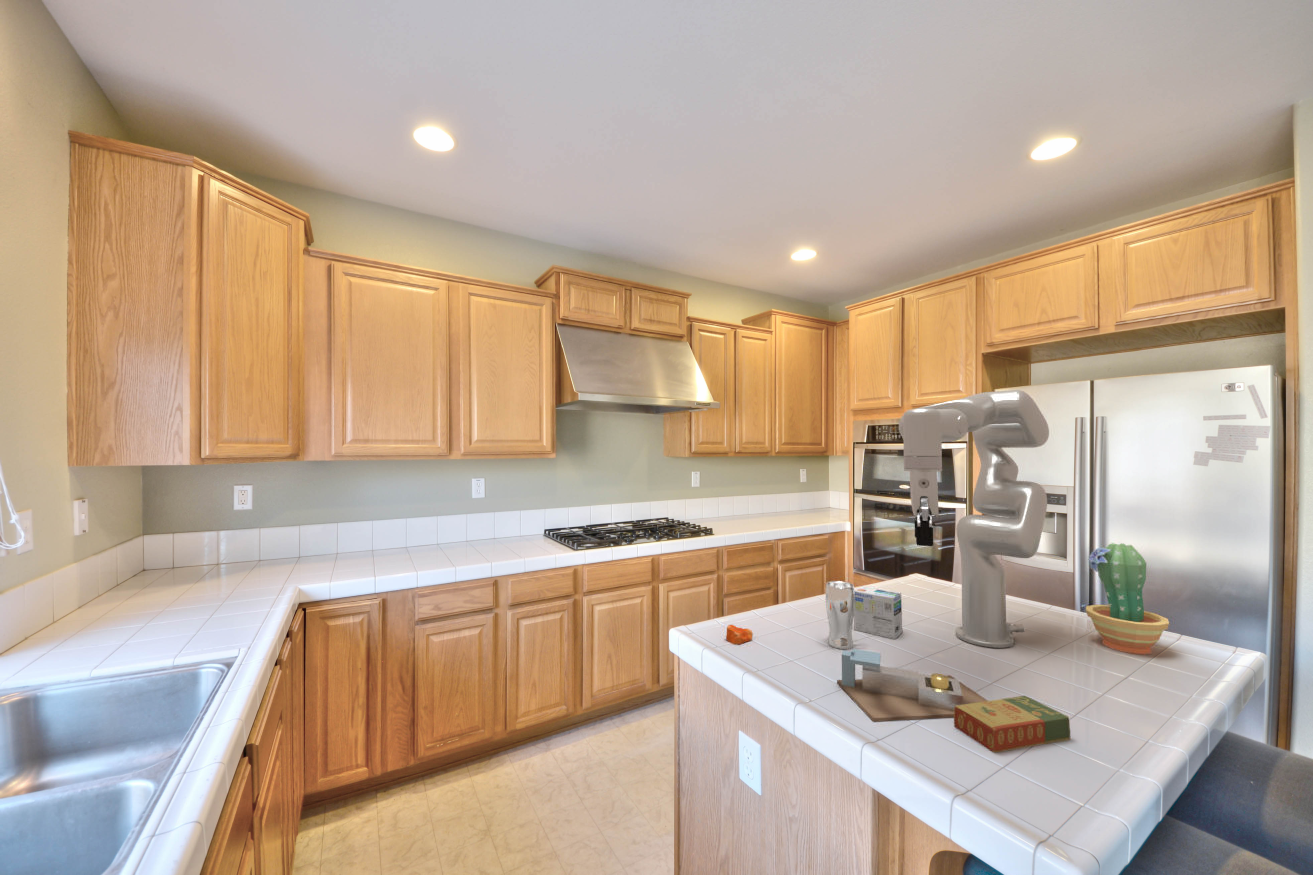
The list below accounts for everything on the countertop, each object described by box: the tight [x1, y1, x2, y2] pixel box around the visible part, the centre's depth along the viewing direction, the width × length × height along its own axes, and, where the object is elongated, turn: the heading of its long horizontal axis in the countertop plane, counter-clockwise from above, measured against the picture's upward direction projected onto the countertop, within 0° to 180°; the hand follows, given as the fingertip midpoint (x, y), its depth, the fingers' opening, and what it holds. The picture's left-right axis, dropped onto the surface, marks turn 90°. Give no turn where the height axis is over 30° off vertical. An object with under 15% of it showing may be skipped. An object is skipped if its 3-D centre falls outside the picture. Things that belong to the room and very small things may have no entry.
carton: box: [953, 695, 1071, 753], centre depth 89 cm, size 8×16×4 cm, turn 104°
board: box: [836, 674, 989, 723], centre depth 101 cm, size 25×15×1 cm, turn 95°
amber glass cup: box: [930, 673, 949, 691], centre depth 98 cm, size 3×3×4 cm
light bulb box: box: [853, 585, 903, 640], centre depth 137 cm, size 11×7×11 cm, turn 49°
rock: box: [725, 624, 754, 646], centre depth 131 cm, size 12×12×4 cm
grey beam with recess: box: [861, 665, 963, 711], centre depth 101 cm, size 17×7×4 cm, turn 65°
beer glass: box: [825, 580, 855, 650], centre depth 128 cm, size 7×7×15 cm
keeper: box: [841, 648, 882, 687], centre depth 104 cm, size 7×6×7 cm
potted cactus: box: [1085, 542, 1170, 655], centre depth 126 cm, size 15×15×25 cm
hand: (923, 541), depth 113 cm, fingers open, 9 cm apart
